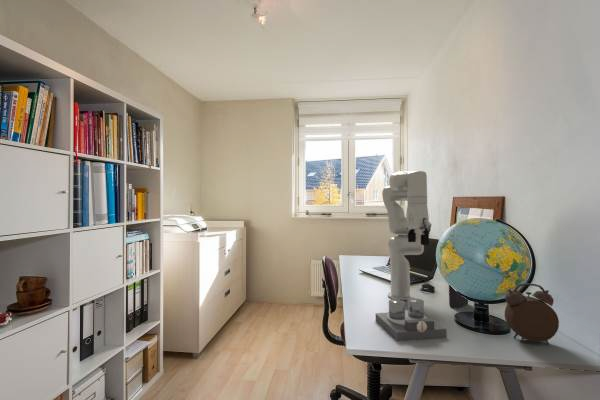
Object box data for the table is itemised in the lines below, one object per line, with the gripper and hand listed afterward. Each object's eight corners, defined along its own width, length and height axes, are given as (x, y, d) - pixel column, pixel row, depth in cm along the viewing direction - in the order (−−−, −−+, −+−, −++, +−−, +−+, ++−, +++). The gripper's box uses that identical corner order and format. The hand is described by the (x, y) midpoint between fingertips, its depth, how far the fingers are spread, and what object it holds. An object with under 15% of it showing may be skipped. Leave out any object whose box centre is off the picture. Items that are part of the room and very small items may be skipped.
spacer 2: (405, 313, 119) (404, 298, 119) (418, 312, 119) (418, 297, 120) (412, 319, 113) (412, 303, 113) (427, 318, 113) (426, 302, 114)
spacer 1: (386, 314, 117) (386, 299, 118) (400, 313, 118) (400, 298, 118) (393, 320, 112) (392, 304, 112) (408, 319, 112) (407, 303, 113)
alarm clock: (547, 338, 104) (546, 281, 105) (561, 348, 97) (559, 287, 97) (501, 335, 107) (500, 280, 108) (511, 344, 100) (510, 285, 100)
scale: (375, 320, 122) (375, 305, 122) (418, 317, 125) (417, 303, 125) (397, 341, 103) (397, 323, 103) (447, 337, 105) (446, 320, 106)
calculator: (460, 302, 145) (459, 271, 145) (469, 304, 141) (468, 273, 141) (448, 306, 139) (447, 274, 139) (457, 309, 135) (456, 276, 135)
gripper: (398, 202, 128) (399, 241, 128) (420, 201, 111) (421, 246, 111) (414, 201, 129) (415, 240, 129) (438, 200, 112) (439, 245, 112)
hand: (418, 243), depth 120 cm, fingers open, 9 cm apart
